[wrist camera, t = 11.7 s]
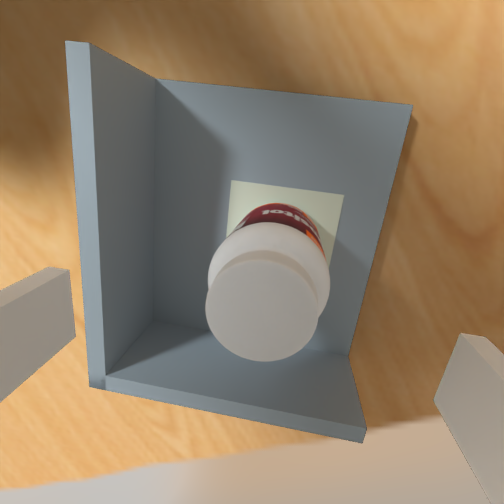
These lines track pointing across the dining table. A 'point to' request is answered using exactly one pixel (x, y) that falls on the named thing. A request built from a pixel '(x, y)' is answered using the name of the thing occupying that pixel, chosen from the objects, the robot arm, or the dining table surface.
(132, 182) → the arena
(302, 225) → the pill bottle
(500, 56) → the dining table surface
